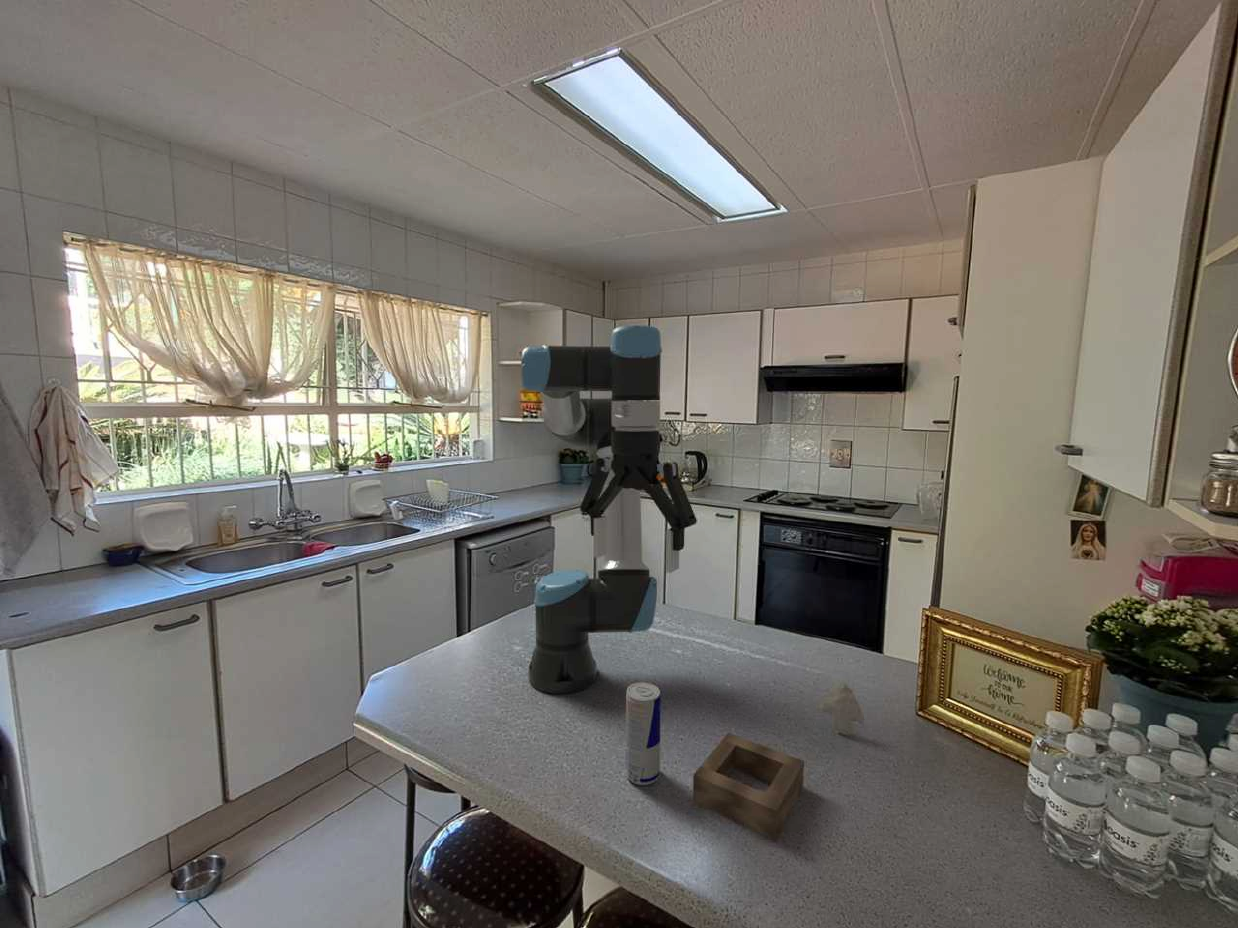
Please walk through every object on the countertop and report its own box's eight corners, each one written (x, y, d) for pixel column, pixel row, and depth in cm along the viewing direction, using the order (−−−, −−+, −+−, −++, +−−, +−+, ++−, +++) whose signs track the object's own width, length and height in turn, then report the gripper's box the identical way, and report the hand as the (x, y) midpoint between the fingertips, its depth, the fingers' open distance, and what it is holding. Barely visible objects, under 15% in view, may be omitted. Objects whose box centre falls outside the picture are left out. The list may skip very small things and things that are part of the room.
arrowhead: (865, 736, 101) (868, 685, 100) (861, 744, 99) (864, 691, 98) (820, 721, 106) (823, 672, 104) (816, 728, 103) (819, 678, 102)
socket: (692, 801, 85) (693, 774, 84) (727, 756, 95) (728, 732, 95) (775, 840, 77) (776, 811, 77) (802, 786, 88) (804, 760, 87)
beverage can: (657, 789, 87) (658, 701, 85) (622, 784, 88) (623, 697, 87) (661, 766, 93) (662, 683, 91) (629, 762, 94) (629, 679, 92)
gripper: (558, 427, 89) (559, 555, 91) (697, 433, 74) (694, 584, 77) (586, 425, 95) (587, 545, 97) (720, 430, 81) (717, 570, 83)
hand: (635, 562), depth 87 cm, fingers open, 13 cm apart
